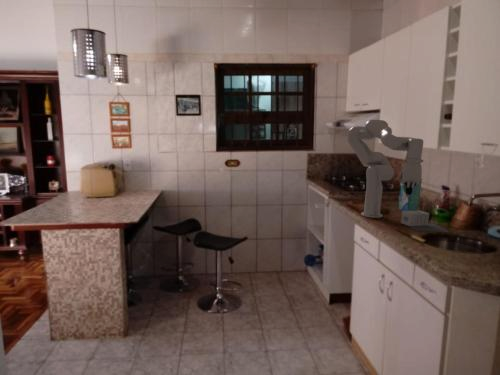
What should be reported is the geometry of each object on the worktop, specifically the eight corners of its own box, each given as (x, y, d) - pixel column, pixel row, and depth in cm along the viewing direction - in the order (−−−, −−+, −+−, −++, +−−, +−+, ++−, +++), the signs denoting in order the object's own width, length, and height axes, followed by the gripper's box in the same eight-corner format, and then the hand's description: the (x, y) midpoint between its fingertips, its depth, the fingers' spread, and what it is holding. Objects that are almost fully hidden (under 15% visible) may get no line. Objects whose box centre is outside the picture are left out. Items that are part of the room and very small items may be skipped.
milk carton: (417, 211, 245) (422, 174, 241) (407, 212, 242) (412, 174, 238) (407, 208, 253) (412, 173, 250) (397, 209, 250) (401, 173, 246)
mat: (402, 222, 211) (402, 221, 211) (433, 224, 211) (433, 223, 211) (415, 230, 194) (415, 230, 194) (449, 232, 193) (449, 231, 193)
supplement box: (402, 210, 206) (420, 210, 210) (400, 223, 207) (418, 222, 211) (411, 213, 199) (429, 213, 203) (409, 226, 200) (428, 226, 204)
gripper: (423, 161, 201) (418, 194, 204) (396, 159, 201) (392, 192, 204) (430, 163, 193) (425, 196, 196) (401, 161, 193) (397, 194, 197)
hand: (408, 194), depth 200 cm, fingers closed
